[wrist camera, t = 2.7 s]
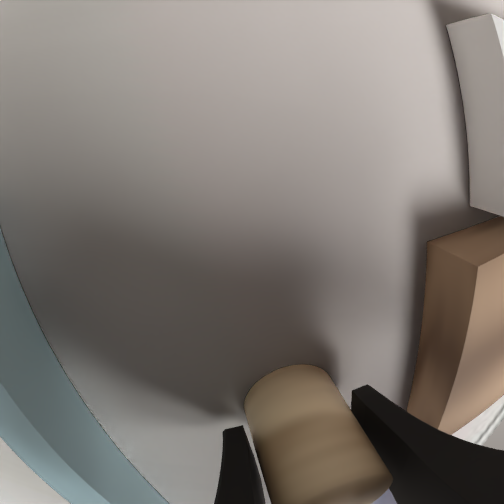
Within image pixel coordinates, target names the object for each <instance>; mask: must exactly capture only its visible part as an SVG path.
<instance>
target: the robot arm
mask: <svg viewBox="0 0 504 504" xmlns="http://www.w3.org/2000/svg"><path fill="white" fill-rule="evenodd" d="M351 411H352V413H353V414H354V416H355V418H356V419H357V421H358V422H359V424H360V426H361V427H362V429H363V430H364V432H365V433H366V435H367V437H368V438H369V440H370V441H371V443H372V445H373V446H374V448H375V449H376V451H377V453H378V454H379V456H380V457H381V459H382V461H383V462H384V464H385V465H386V467H387V468H388V470H389V472H390V473H391V475H392V477H393V481H392V484H391V486H390V487H389V488H388V490H387V491H386V492H385V493H384V494H383V495H382V496H380V497H379V498H378V499H377V500H376V501H374V502H373V503H371V504H504V451H503V450H496V449H493V448H488V447H484V446H481V445H477V444H473V443H470V442H468V441H465V440H462V439H459V438H457V437H454V436H452V435H449V434H447V433H445V432H443V431H440V430H438V429H436V428H434V427H433V426H431V425H429V424H427V423H425V422H423V421H421V420H420V419H418V418H416V417H415V416H413V415H411V414H410V413H408V412H407V411H405V410H403V409H402V408H400V407H399V406H397V405H396V404H394V403H393V402H392V401H390V400H389V399H387V398H386V397H384V396H383V395H382V394H380V393H379V392H378V391H376V390H375V389H373V388H372V387H371V386H369V385H365V386H362V387H360V388H357V389H355V390H352V402H351ZM214 504H265V499H264V494H263V488H262V483H261V478H260V475H259V472H258V468H257V465H256V462H255V458H254V455H253V452H252V450H251V447H250V444H249V441H248V439H247V436H246V433H245V430H244V428H243V425H242V426H238V427H234V428H229V429H225V430H224V431H223V452H222V462H221V470H220V477H219V483H218V489H217V493H216V498H215V502H214Z"/></svg>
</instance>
